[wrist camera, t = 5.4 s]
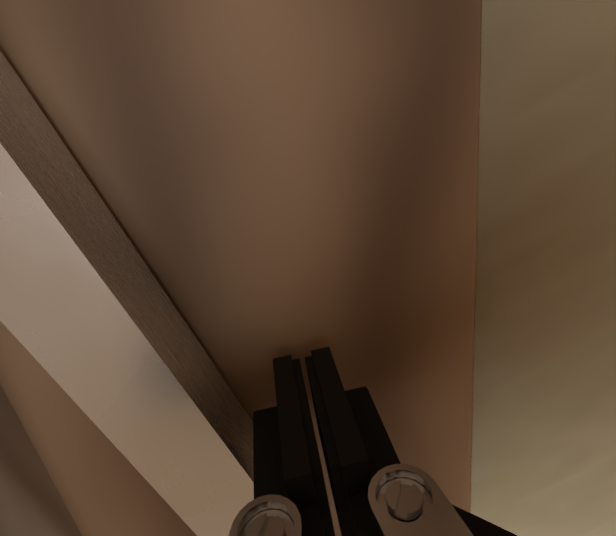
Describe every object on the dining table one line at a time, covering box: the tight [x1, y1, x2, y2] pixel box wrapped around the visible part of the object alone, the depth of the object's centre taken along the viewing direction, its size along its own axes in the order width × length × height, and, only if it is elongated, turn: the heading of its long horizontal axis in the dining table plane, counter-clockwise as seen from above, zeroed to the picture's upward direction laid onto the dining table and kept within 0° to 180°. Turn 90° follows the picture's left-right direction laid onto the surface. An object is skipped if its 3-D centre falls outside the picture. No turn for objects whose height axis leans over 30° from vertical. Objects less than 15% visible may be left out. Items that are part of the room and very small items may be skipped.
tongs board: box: [0, 0, 482, 536], centre depth 11 cm, size 18×29×4 cm, turn 8°
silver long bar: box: [0, 50, 254, 536], centre depth 9 cm, size 3×20×3 cm, turn 25°
